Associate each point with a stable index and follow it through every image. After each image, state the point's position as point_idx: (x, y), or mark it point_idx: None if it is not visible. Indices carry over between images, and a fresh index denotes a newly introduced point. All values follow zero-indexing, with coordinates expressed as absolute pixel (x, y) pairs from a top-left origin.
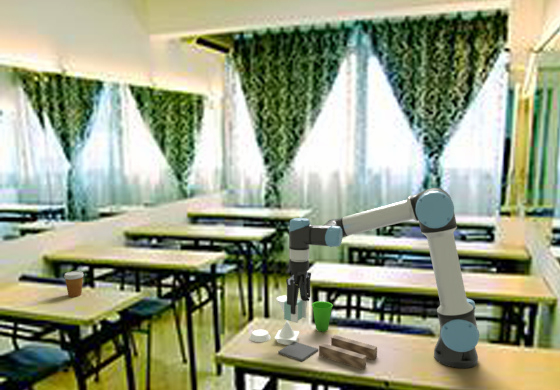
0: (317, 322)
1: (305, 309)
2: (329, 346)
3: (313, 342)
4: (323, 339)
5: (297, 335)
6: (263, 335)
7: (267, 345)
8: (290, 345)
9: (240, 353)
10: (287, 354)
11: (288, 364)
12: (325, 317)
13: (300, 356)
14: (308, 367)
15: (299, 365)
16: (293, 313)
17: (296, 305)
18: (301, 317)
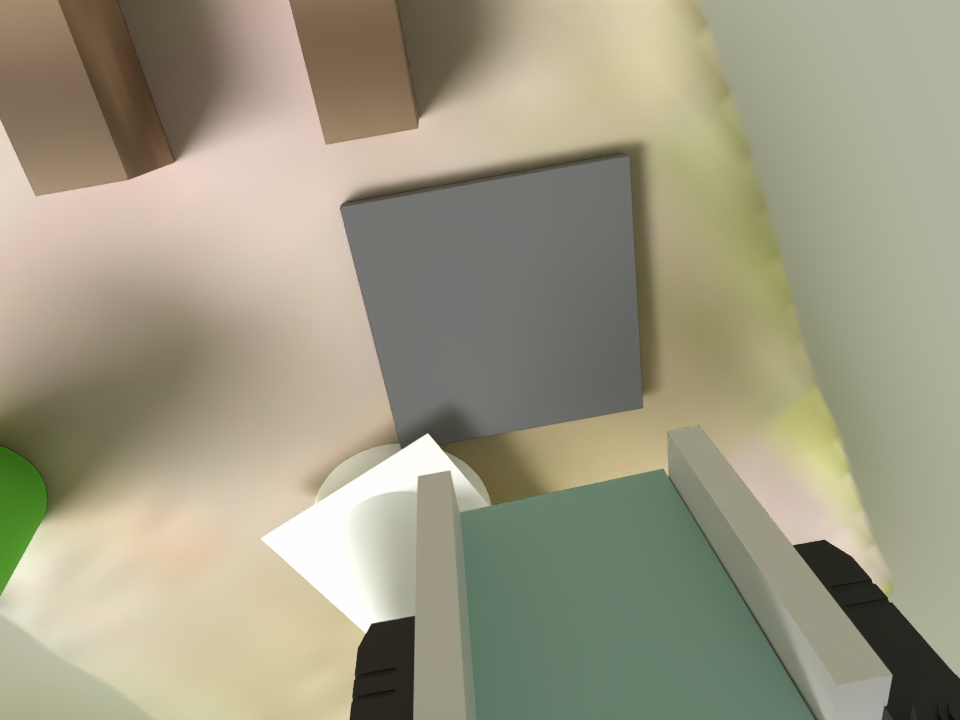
0: (8, 543)
1: (451, 583)
2: (338, 5)
3: (252, 354)
4: (121, 337)
5: (339, 491)
6: None
7: None
8: (488, 420)
9: None
10: (636, 319)
11: (746, 200)
12: None
13: (595, 209)
14: (684, 15)
15: (703, 113)
16: (847, 557)
17: (865, 699)
18: (478, 520)
